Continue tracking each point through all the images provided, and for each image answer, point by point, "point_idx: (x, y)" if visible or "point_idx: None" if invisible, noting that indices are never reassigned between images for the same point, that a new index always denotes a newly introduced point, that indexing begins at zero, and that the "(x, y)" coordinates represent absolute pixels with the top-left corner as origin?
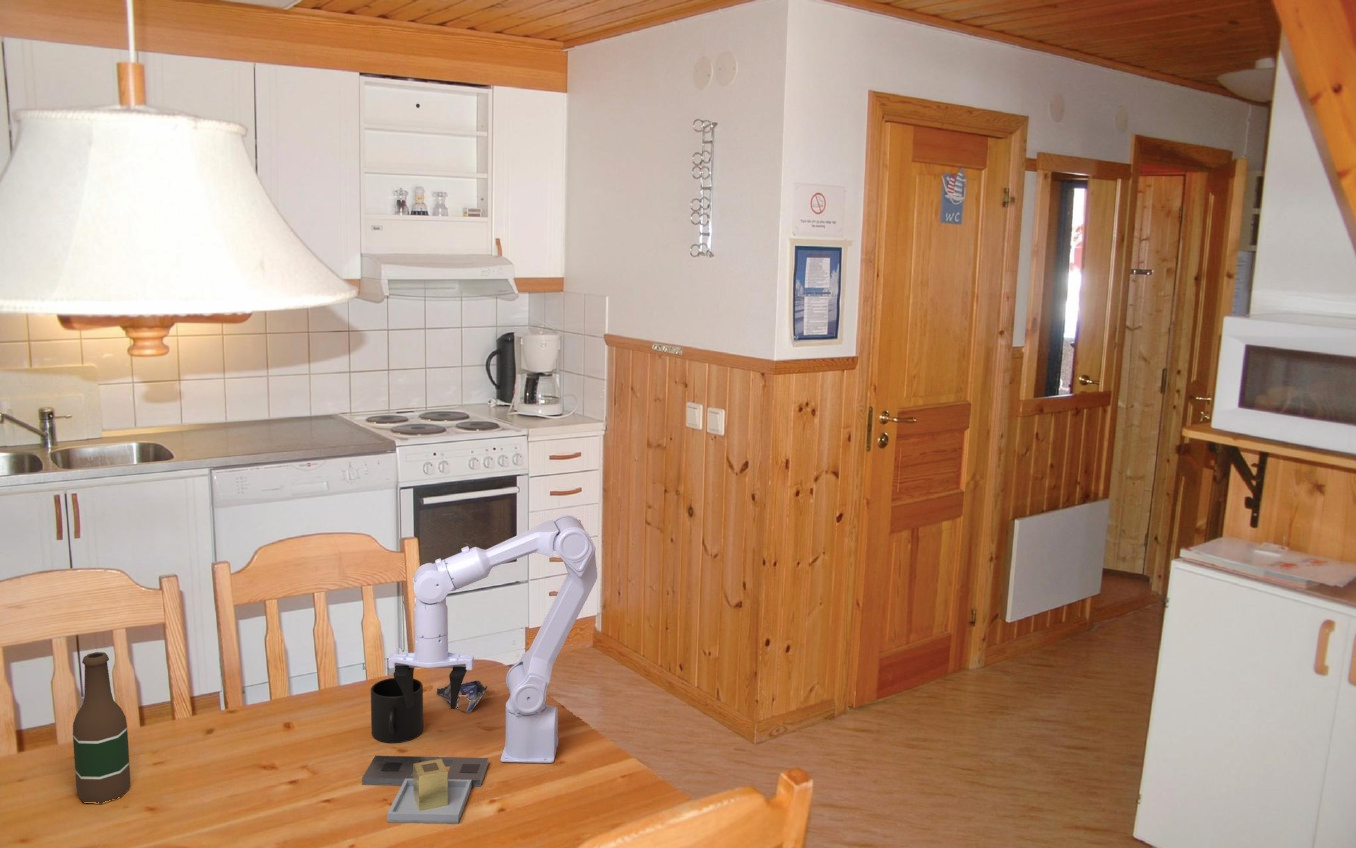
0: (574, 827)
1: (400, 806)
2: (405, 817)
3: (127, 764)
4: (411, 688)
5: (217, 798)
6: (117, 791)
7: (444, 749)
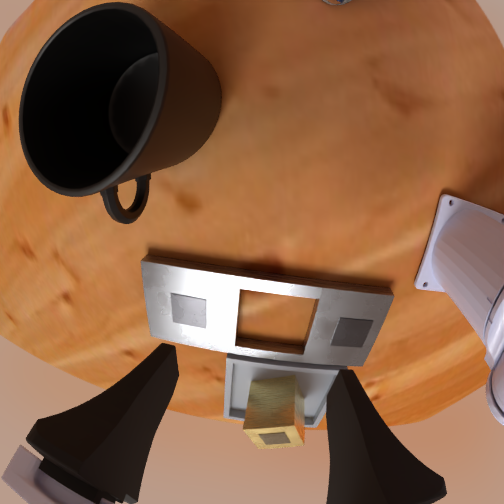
0: (432, 412)
1: (235, 393)
2: None
3: None
4: (146, 407)
5: (31, 315)
6: None
7: (294, 205)
